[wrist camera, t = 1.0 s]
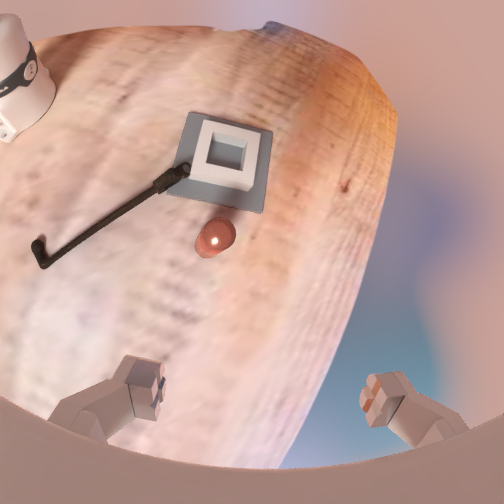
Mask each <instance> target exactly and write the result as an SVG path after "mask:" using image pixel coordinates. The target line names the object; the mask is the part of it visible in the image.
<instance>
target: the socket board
mask: <svg viewBox="0 0 504 504" xmlns="http://www.w3.org/2000/svg"><path fill="white" fill-rule="evenodd" d="M272 135H273V133H272V132H269V131H265V130H262V129H258V128H255V127H251V126H247V125H244V124H240V123H236V122H232V121H228V120H224V119H220V118H215V117H211V116H206V115H202V114H197V113H192V112H189V113H188V116H187V119H186V123H185V126H184V129H183V133H182V136H181V140H180V143H179V147H178V150H177V154H176V158H175V161H174V165H173V168H176V166H178V165H179V164H181V163H183V162H189V163H190V164H191V166H192V167H191V172H190V168H189V166H188V165H184V166H183V169H184V171H185V172H187V173H189V172H190V174H191V175H190V176H188V177H187V178H184V179H183V178H182V179H181V180H180V181H179V182H178V183H176V184H175V185H173V186H172V187H170V188H168V189H167V195H172V196H177V197H183V198H188V199H193V200H198V201H203V202H208V203H213V204H218V205H223V206H227V207H232V208H237V209H241V210H246V211H251V212H255V213H260V214H261V213H262V212H263V204H264V196H265V189H266V181H267V174H268V166H269V158H270V150H271V143H272Z"/></svg>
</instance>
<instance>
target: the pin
mask: <svg viewBox="0 0 504 504" xmlns="http://www.w3.org/2000/svg"><path fill="white" fill-rule="evenodd" d="M235 238H236V230H235V227H234V226H233V224H232V223H231V222H230V221H229V220H227V219H225V218H221V217H217V218H213V219H211V220H210V221H209V222H208V223H207V224H206V225H205V227H204V228H203V230H202V231H201V233H200V234H199V236H198V237H197V239H196V241H195V250H196V252H197V253H198V254H199V255H200V256H201V257H203V258H211V257H214V256H215V255H217V254H219V253H220V252H222V251H224V250H225V249H227V248H229V247H230V246H231V245H232V244H233V243H234V241H235Z"/></svg>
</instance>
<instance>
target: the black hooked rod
mask: <svg viewBox="0 0 504 504" xmlns="http://www.w3.org/2000/svg"><path fill="white" fill-rule="evenodd" d="M184 165H188V166H189V168H190V172H191V167H192V166H191V164H190V163H189V162H183V163H181V164H179V165H178V166H176V168H170V169H168V170H167V171H166V172H165V173H163V174H162V175H161V176H160V177H158V178H157V179H156V180H155V181H153V186H152V187H151V188H149V189H147V190H146V191H144V192H143V193H141V194H140V195H138V196H137V197H135V198H134V199H132V200H131V201H129V202H128V203H126V204H125V205H123V206H122V207H120V208H119V209H117V210H116V211H114V212H113V213H111V214H110V215H108V216H107V217H105V218H104V219H102V220H101V221H100V222H98V223H97V224H95V225H94V226H92V227H91V228H89V229H88V230H87V231H85V232H84V233H82V234H81V235H80V236H78V237H77V238H75V239H74V240H73V241H71V242H70V243H69V244H67V245H66V246H65V247H63V248H62V249H61V250H60V251H58V252H57V253H56V254H54V255H53V256H52V257H50V258H49V259H46V257H45V255H44V253H43V247H44V246H43V243H42V241H40V240H38V239H37V240H35V241H33V242H32V245H31V249H32V252H33V253H34V255H35V257H36V259H37V262H38V264H39V266H40V268H41V269H46V268H48V267H49V266H50V265H52V264H53V263H54V262H55V261H57V260H58V259H59V258H61V257H62V256H63V255H65V254H66V253H67V252H69V251H70V250H71V249H73V248H74V247H76V246H77V245H78V244H80V243H81V242H83V241H84V240H86V239H87V238H89V237H90V236H91V235H93V234H94V233H96V232H97V231H99V230H100V229H102V228H103V227H105V226H106V225H108V224H109V223H111V222H112V221H114V220H115V219H117V218H118V217H120V216H122V215H123V214H125V213H126V212H128V211H129V210H131V209H132V208H134V207H135V206H137V205H138V204H140V203H142V202H143V201H144V200H146V199H148V198H149V197H151V196H152V195H154V194H155V193H158V194H161V193H162V192H164V191H166V190H167V189H168V188H170V187H172V186H173V185H175V184H176V183H178V182H179V181H180V180H181V179H182V178H183V179H184V178H187V177H188V176H190V175H191V174H190V172H189V173H187V172H185V171H184V169H183V166H184Z"/></svg>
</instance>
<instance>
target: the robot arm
mask: <svg viewBox="0 0 504 504" xmlns="http://www.w3.org/2000/svg"><path fill="white" fill-rule="evenodd" d="M55 92H56V87H55V83H54V82H53V81H52V79H51V78H50V75H49V70H48V69H47V68H44V66H43V65H42V63H41V61H40V60H39V58H38V56H37V55H36V53H35V50H34V47H33V45H32V44H31V42H29V41H28V39H27V37H26V34H25V31H24V28H23V25H22V22H21V19H20V18H19V17H18V16H16V15H14V14H1V15H0V141H2V142H5V143H10V142H11V141H12V140H14V139H15V138H16V136H17V135H18V134H19V133H20V132H22V131H23V130H25V129H27V128H28V127H30V126H31V125H33V124H34V123H35V122H37V121H38V120H39V119H40V118H41V117H42V116H43V115H44V113H45V112H46V111H47V110H48V108H49V107H50V105H51V103H52V101H53V99H54V96H55ZM164 371H165V367H164V363H163V362H159V361H154V360H149V359H145V358H140V357H135V356H131V355H126V356H124V358H123V360H122V361H121V363H120V365H119V366H118V368H117V370H116V371H115V373H114V375H113V377H112V378H111V380H109V379H106V380H104V381H102V382H100V383H98V384H96V385H93V386H91V387H89V388H87V389H85V390H83V391H80V392H78V393H76V394H74V395H71V396H69V397H67V398H65V399H62V400H61V401H60V402H59V404H58V405H57V407H56V408H55V410H54V411H53V413H52V414H51V416H50V417H49V419H48V420H45V419H43V418H41V417H39V416H37V415H35V414H33V413H31V412H29V411H27V410H25V409H23V408H22V407H20V406H18V405H16V404H14V403H13V402H11V401H9V400H7V399H6V398H4V397H2V396H1V395H0V504H504V413H503V414H501V415H500V416H498V417H496V418H494V419H492V420H490V421H488V422H485V423H483V424H481V425H479V426H477V427H474V428H472V429H469V428H468V426H467V425H466V423H465V422H464V420H463V419H462V418H461V416H460V415H459V413H457V412H455V411H453V410H451V409H449V408H447V407H445V406H443V405H441V404H440V403H438V402H436V401H434V400H432V399H430V398H428V397H427V396H424V395H423V394H421V393H417V392H416V391H415V389H414V388H413V386H412V385H411V383H410V382H409V381H408V379H407V378H406V376H405V375H404V373H403V372H401V371H395V372H389V373H376V374H370V375H369V376H368V378H367V380H366V382H367V386H365V387H364V388H363V389H362V391H361V394H360V406H361V408H362V410H363V411H365V412H366V413H367V414H366V416H365V417H366V420H367V422H368V424H369V427H370V428H372V427H380V426H387V427H388V428H389V429H391V430H392V431H393V432H394V433H395V434H397V435H398V436H399V437H400V438H402V439H403V440H404V441H405V442H406V443H408V444H409V445H410V446H411V447H413V448H414V449H413V450H409V451H406V452H402V453H398V454H394V455H390V456H385V457H381V458H376V459H371V460H365V461H360V462H354V463H348V464H340V465H332V466H322V467H311V468H294V469H247V468H230V467H218V466H209V465H200V464H193V463H186V462H180V461H174V460H169V459H164V458H159V457H154V456H150V455H145V454H141V453H137V452H133V451H130V450H126V449H122V448H119V447H116V446H112V445H109V444H108V443H107V439H108V438H110V437H111V436H112V435H114V434H115V433H116V432H118V431H119V430H120V429H122V428H123V427H124V426H126V425H127V424H128V423H130V422H131V421H132V420H134V419H135V417H137V418H142V419H147V420H152V421H157V418H158V415H159V412H160V403H161V402H162V401H163V399H164V396H165V390H166V379H165V378H164V377H163V374H164Z"/></svg>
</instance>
